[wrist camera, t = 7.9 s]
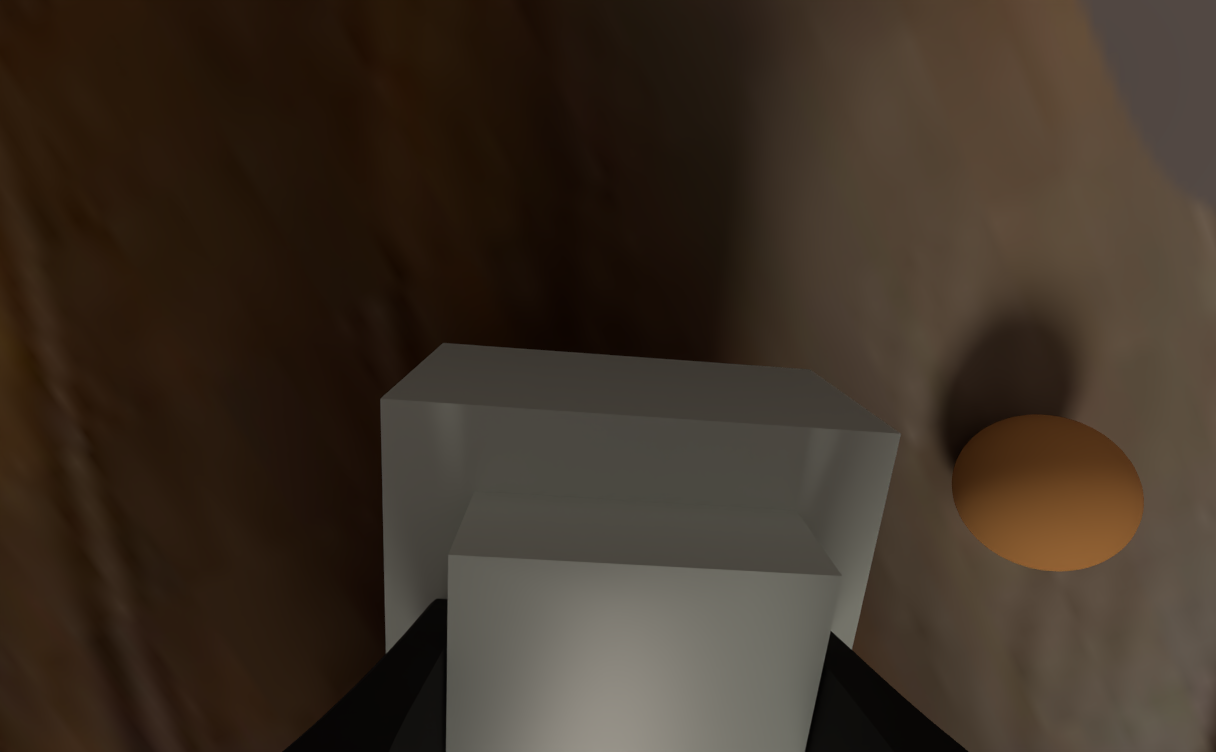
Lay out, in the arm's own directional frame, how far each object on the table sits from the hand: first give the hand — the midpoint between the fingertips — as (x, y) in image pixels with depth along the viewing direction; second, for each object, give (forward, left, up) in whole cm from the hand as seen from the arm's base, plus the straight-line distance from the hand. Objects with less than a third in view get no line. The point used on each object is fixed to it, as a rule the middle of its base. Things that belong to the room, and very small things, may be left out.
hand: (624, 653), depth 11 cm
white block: (0, 0, -5) cm, 5 cm away
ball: (+9, -11, -8) cm, 16 cm away
